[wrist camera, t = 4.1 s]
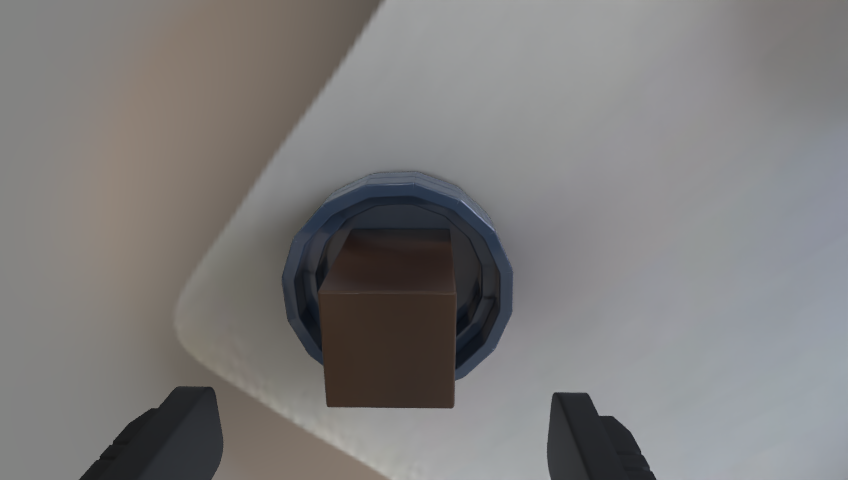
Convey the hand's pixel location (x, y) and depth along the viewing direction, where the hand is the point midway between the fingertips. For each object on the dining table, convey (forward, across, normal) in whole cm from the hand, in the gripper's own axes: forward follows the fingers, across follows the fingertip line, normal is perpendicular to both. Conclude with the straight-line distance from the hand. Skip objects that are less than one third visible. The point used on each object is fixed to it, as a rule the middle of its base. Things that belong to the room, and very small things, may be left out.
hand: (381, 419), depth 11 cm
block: (+9, 0, 0) cm, 9 cm away
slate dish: (+10, 0, 0) cm, 10 cm away
